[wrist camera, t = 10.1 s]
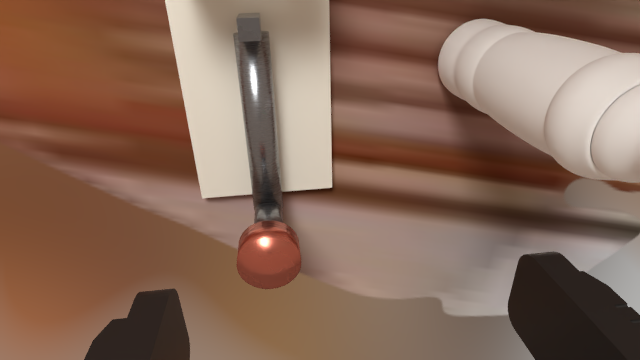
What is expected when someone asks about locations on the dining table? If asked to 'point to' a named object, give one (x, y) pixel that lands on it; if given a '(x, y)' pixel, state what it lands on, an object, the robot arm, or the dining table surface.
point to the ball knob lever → (262, 165)
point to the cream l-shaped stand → (224, 92)
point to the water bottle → (551, 94)
